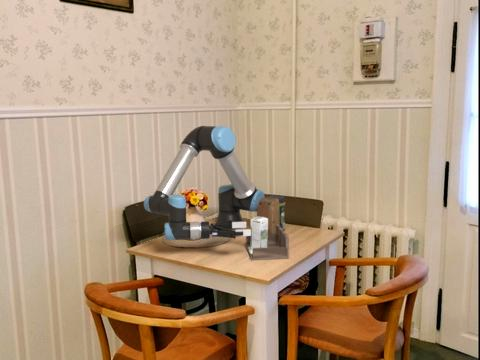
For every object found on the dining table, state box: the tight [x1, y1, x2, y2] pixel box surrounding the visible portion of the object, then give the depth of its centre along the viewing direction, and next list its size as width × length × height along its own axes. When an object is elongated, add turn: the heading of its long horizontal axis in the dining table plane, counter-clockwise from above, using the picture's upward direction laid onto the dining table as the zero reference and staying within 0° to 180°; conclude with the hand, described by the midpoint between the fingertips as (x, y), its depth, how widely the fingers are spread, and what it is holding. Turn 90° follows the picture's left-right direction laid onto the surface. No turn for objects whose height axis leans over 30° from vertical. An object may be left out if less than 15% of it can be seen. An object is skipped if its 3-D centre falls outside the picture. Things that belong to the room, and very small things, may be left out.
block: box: [256, 196, 280, 234], centre depth 223 cm, size 11×8×20 cm
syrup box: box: [250, 216, 268, 250], centre depth 199 cm, size 6×6×14 cm
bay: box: [244, 224, 290, 261], centre depth 200 cm, size 22×16×10 cm
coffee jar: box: [267, 194, 287, 231], centre depth 237 cm, size 10×8×19 cm
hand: (248, 228), depth 198 cm, fingers open, 13 cm apart
